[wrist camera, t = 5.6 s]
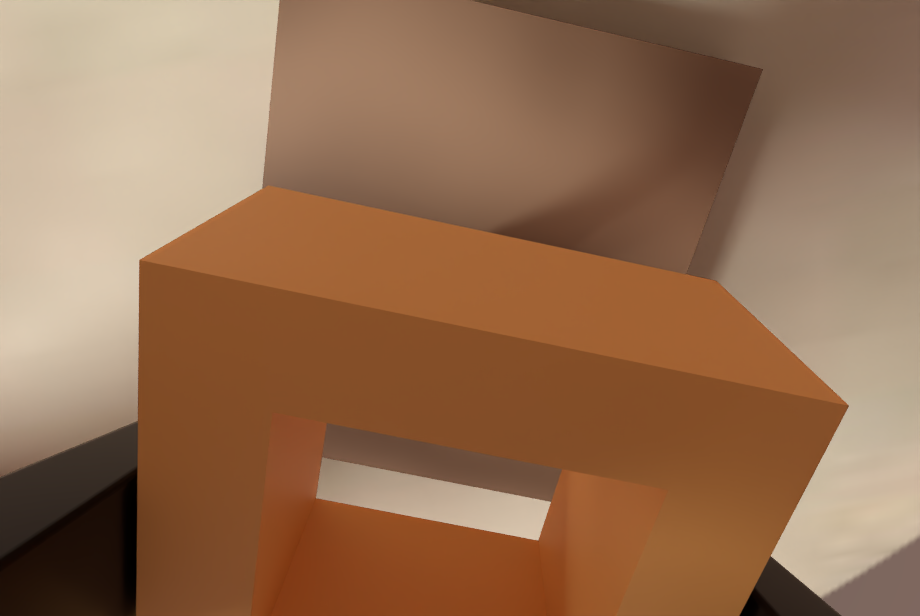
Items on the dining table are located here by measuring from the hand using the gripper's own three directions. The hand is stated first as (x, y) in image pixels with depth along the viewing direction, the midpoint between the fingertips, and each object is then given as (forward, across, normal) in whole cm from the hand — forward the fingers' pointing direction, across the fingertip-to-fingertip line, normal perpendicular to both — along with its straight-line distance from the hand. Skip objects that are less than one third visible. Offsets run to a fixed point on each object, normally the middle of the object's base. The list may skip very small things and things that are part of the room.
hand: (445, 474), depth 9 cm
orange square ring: (+1, 0, 0) cm, 1 cm away
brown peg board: (+11, 0, 0) cm, 11 cm away
